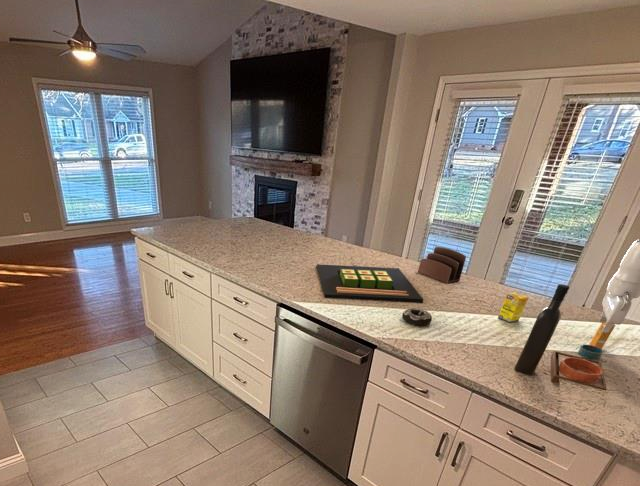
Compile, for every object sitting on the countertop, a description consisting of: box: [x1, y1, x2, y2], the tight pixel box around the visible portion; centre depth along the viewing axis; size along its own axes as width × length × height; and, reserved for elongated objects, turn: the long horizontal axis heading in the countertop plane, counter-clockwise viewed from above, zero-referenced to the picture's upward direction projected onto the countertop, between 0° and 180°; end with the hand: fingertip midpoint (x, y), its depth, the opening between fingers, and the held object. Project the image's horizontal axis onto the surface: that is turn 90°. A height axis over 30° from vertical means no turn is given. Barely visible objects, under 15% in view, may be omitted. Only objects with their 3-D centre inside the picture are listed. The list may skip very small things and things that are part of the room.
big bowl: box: [557, 356, 604, 384], centre depth 136 cm, size 11×11×5 cm
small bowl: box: [577, 344, 604, 361], centre depth 148 cm, size 7×7×4 cm
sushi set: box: [316, 263, 424, 304], centre depth 207 cm, size 45×45×4 cm
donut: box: [401, 307, 433, 327], centre depth 171 cm, size 12×12×4 cm
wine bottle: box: [514, 283, 570, 376], centre depth 133 cm, size 6×6×30 cm
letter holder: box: [417, 246, 467, 284], centre depth 218 cm, size 10×20×14 cm, turn 30°
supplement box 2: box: [589, 321, 617, 350], centre depth 155 cm, size 3×3×10 cm
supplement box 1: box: [497, 291, 530, 324], centre depth 174 cm, size 6×6×11 cm
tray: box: [550, 350, 607, 391], centre depth 139 cm, size 14×20×2 cm
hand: (603, 326), depth 142 cm, fingers open, 8 cm apart
